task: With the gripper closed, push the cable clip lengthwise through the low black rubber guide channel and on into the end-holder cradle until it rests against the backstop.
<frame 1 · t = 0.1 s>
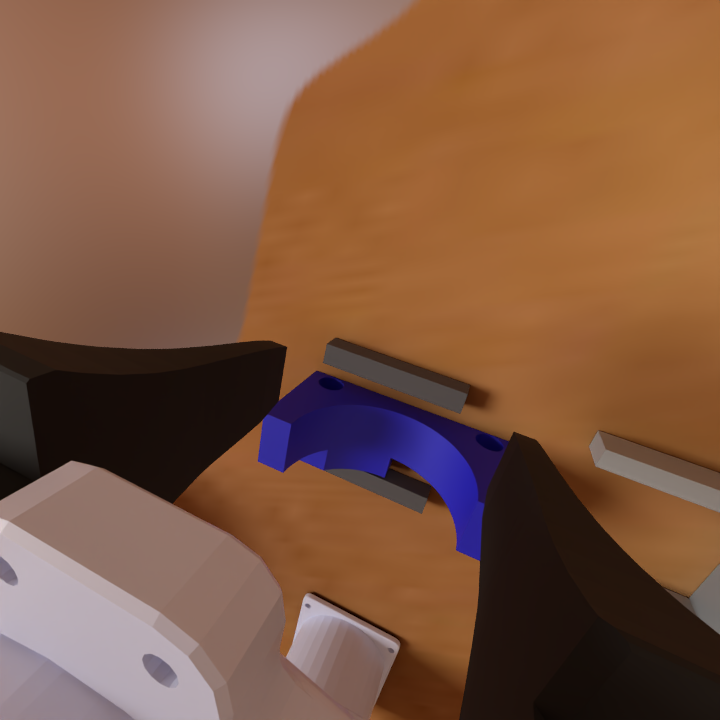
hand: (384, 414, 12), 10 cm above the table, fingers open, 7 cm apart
cable clip: (401, 433, 24), on the table
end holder: (591, 504, 21), on the table
guide channel: (382, 422, 24), on the table
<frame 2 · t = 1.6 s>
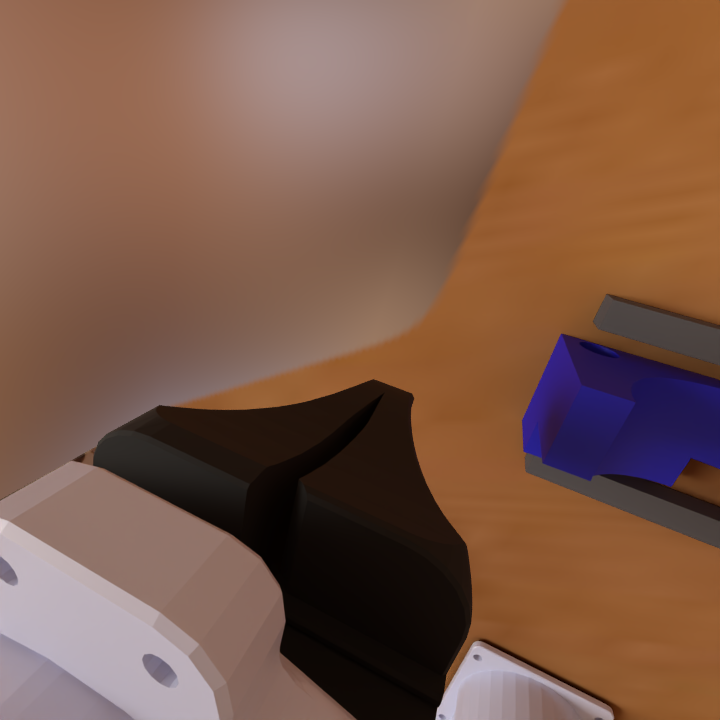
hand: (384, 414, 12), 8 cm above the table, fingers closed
cable clip: (684, 422, 17), on the table
guide channel: (659, 416, 17), on the table
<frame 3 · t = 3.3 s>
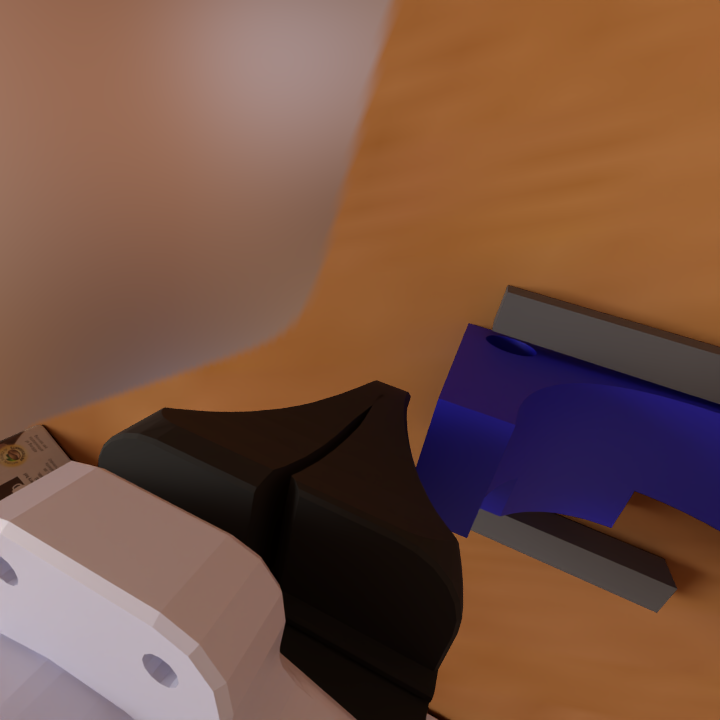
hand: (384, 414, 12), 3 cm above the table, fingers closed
cable clip: (631, 440, 13), on the table, touching gripper
coffee box: (52, 486, 26), on the table
guide channel: (581, 443, 13), on the table
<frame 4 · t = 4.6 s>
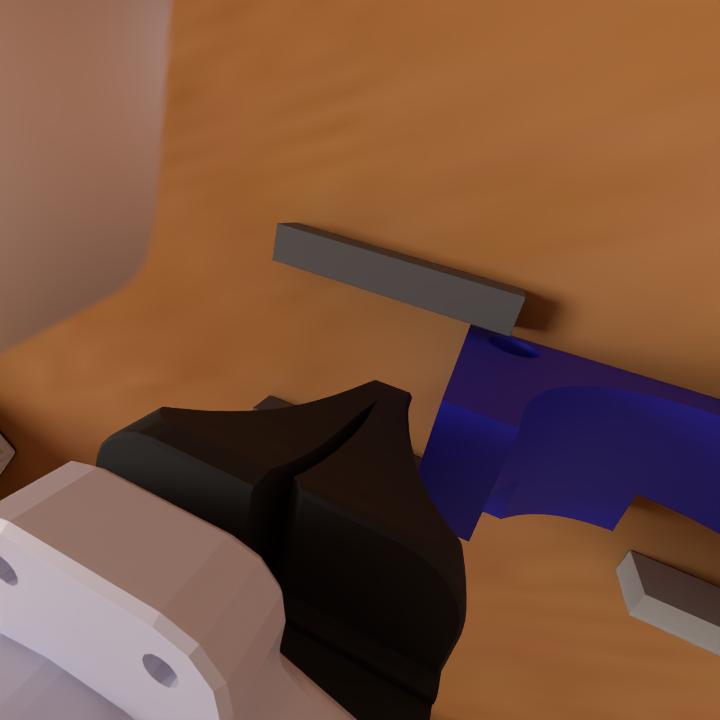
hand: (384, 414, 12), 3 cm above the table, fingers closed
cable clip: (633, 443, 13), on the table, touching gripper
guide channel: (372, 365, 15), on the table
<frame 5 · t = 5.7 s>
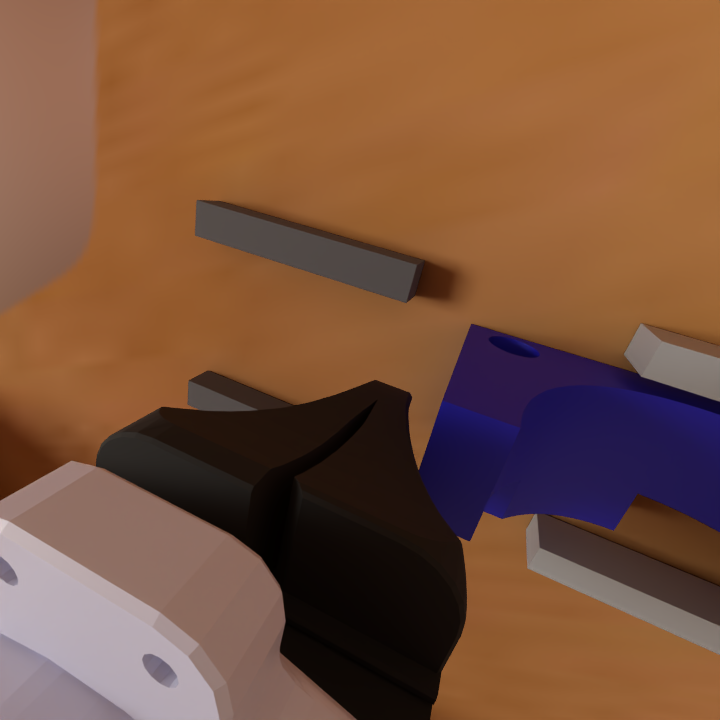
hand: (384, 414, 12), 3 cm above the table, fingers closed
cable clip: (634, 442, 13), on the table, touching gripper
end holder: (624, 458, 13), on the table
guide channel: (296, 338, 15), on the table
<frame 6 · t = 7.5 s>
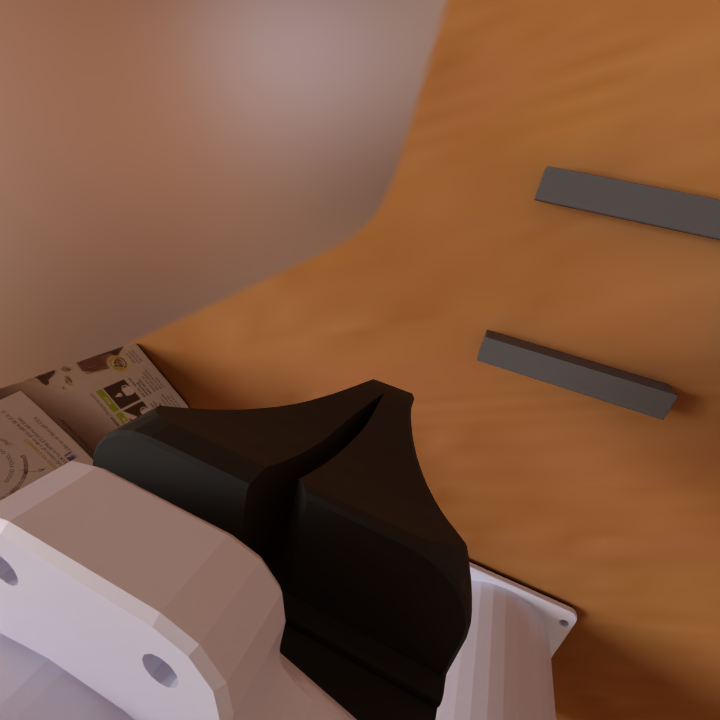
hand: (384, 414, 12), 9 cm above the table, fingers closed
coffee box: (138, 403, 30), on the table
guide channel: (602, 293, 17), on the table
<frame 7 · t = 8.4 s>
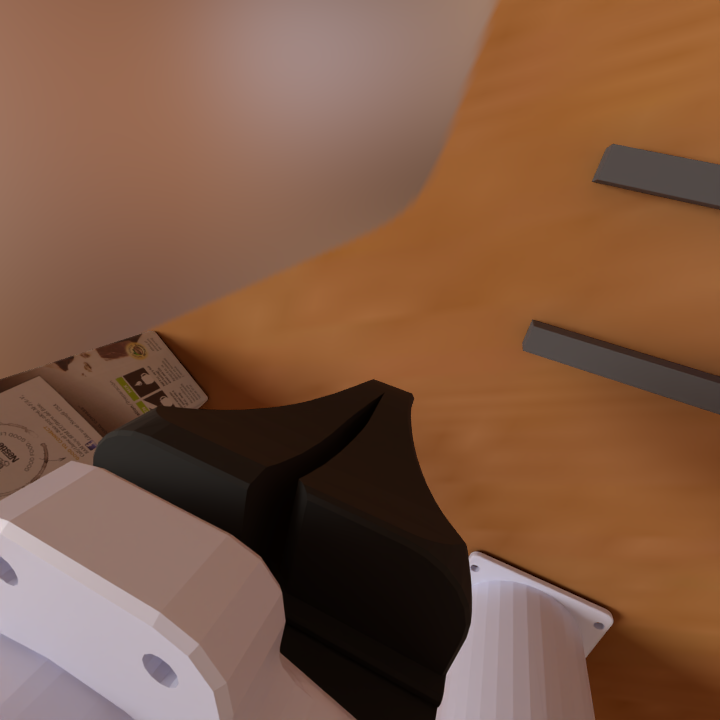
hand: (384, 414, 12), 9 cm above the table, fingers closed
coffee box: (154, 393, 29), on the table
guide channel: (660, 282, 16), on the table
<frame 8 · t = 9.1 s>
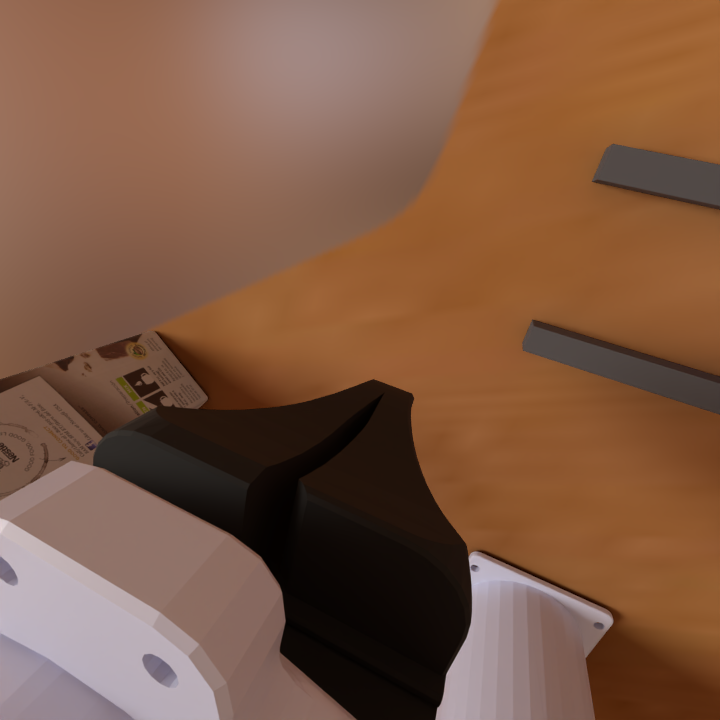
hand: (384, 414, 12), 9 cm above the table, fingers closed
coffee box: (154, 393, 29), on the table
guide channel: (660, 282, 16), on the table
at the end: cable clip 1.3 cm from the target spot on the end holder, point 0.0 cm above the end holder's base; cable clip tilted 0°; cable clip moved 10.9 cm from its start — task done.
